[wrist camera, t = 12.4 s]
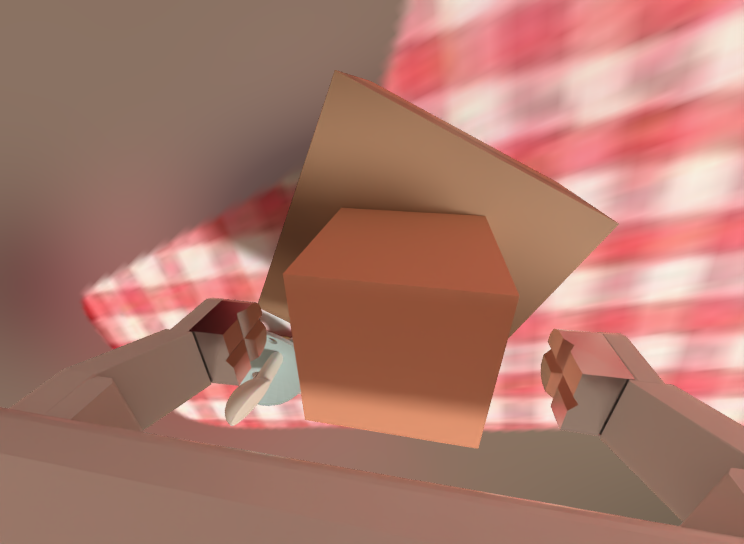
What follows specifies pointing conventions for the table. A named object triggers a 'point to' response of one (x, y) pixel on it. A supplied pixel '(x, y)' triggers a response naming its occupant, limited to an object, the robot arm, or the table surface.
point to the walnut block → (431, 190)
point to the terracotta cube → (401, 323)
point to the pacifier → (266, 380)
